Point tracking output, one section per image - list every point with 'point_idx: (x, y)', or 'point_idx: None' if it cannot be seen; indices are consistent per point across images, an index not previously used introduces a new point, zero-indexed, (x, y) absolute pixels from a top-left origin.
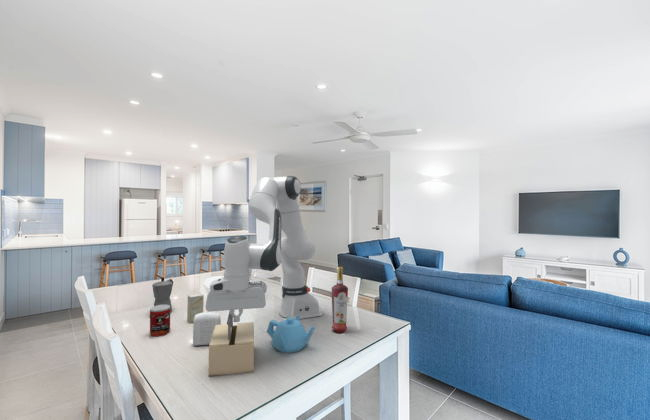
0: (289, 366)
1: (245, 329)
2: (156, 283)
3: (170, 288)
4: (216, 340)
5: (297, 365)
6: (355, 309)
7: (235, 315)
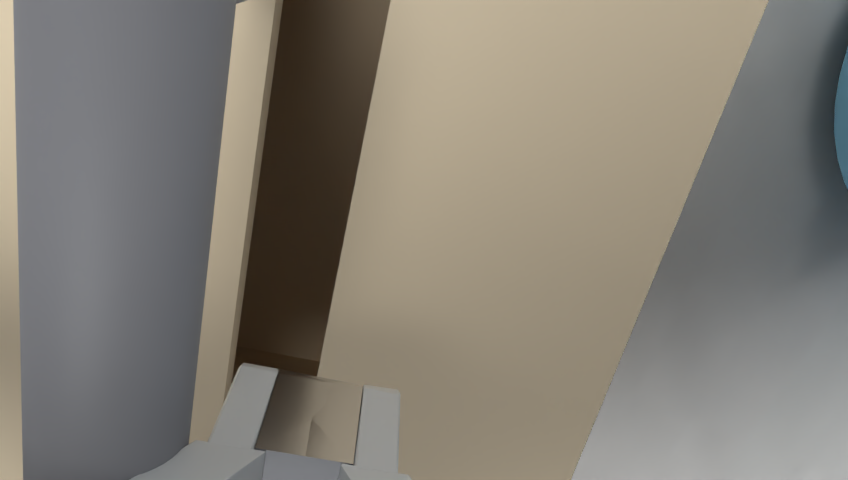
0: (764, 432)
1: (520, 223)
2: None
3: None
4: (18, 447)
5: (826, 442)
6: None
7: (261, 464)
